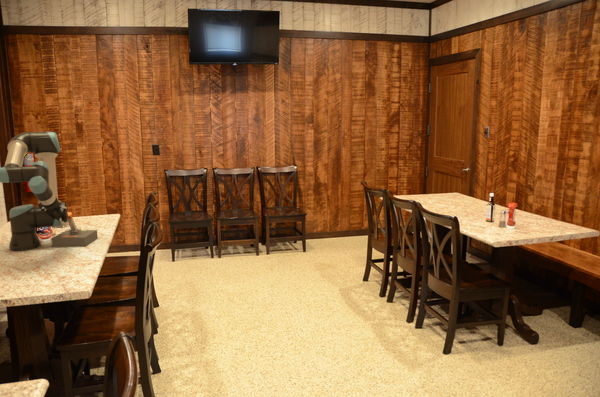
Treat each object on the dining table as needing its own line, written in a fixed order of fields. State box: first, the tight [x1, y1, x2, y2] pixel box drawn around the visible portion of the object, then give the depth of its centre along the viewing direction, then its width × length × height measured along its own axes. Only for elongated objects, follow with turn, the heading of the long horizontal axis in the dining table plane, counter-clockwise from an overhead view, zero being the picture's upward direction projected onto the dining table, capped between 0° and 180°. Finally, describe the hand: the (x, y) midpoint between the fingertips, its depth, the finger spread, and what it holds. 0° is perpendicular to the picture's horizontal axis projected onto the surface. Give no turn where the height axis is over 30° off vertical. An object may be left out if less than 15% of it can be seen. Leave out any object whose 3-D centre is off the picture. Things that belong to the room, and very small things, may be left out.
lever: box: [67, 211, 79, 233], centre depth 267 cm, size 4×3×14 cm
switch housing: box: [51, 228, 99, 248], centre depth 271 cm, size 18×18×8 cm
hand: (65, 224), depth 259 cm, fingers closed
